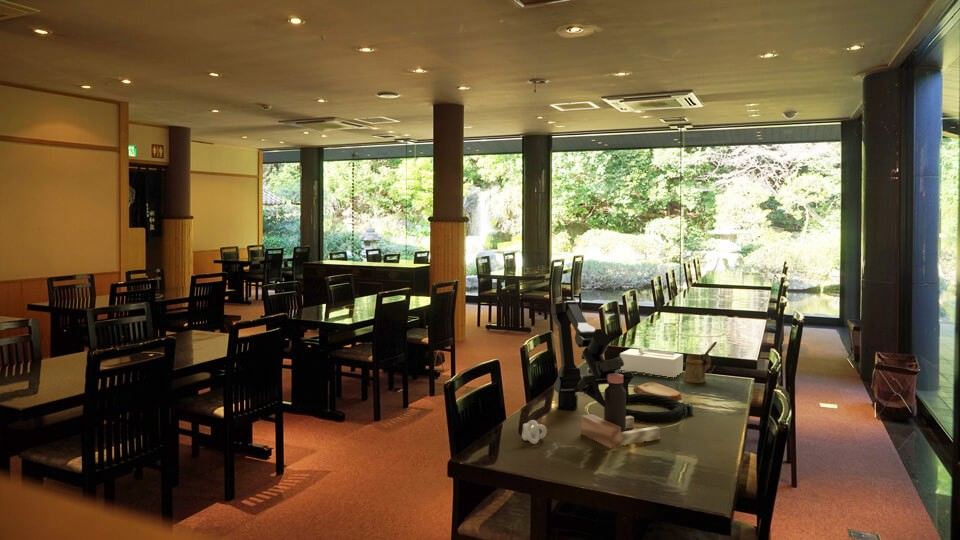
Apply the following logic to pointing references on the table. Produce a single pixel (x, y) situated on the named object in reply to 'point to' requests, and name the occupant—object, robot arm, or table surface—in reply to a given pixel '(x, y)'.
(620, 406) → the vinegar
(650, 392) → the bread slice
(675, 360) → the tissue box
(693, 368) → the wooden mug
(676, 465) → the table surface
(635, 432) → the track
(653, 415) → the cable lock
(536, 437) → the knot
